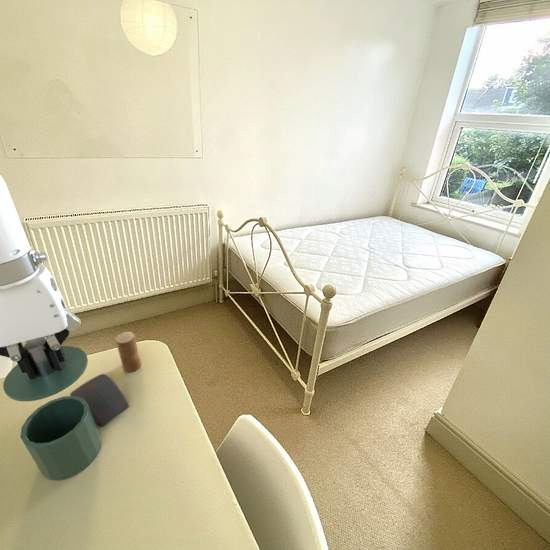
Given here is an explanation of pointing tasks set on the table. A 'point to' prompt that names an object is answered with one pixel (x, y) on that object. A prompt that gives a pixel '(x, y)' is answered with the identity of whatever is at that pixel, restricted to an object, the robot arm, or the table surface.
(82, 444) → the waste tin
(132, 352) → the brown cylinder
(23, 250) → the robot arm
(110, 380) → the dark grey flat block
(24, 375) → the tin lid
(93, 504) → the table surface
